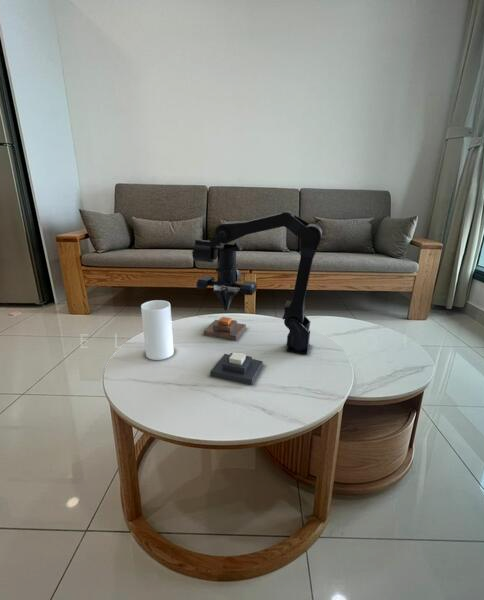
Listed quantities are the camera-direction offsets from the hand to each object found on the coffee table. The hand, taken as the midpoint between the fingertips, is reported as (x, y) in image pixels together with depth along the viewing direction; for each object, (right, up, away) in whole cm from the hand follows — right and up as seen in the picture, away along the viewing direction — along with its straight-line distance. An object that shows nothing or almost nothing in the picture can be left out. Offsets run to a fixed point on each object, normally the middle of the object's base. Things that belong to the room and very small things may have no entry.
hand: (226, 310), depth 106 cm
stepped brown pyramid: (-1, -8, +9) cm, 12 cm away
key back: (-1, -5, +8) cm, 10 cm away
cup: (-20, -13, -6) cm, 25 cm away
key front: (+4, -14, -15) cm, 21 cm away
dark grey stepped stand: (+4, -17, -14) cm, 23 cm away
